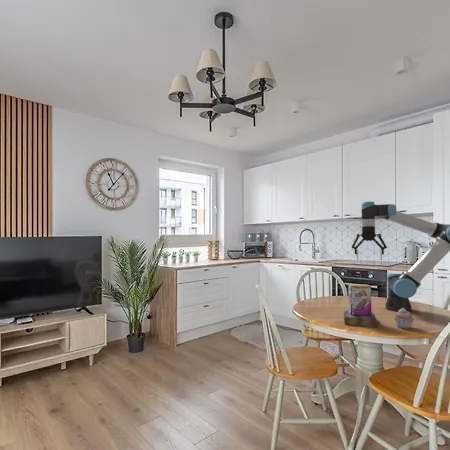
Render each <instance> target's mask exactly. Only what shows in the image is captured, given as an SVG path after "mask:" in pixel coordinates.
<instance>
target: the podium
mask: <svg viewBox="0 0 450 450" xmlns="http://www.w3.org/2000/svg"><path fill="white" fill-rule="evenodd" d="M343 319H344V325H346V326H347V325H348V326H356V327H357V326H360V327H370V328H371V327H372V328H373V327H374V328H378V319H377V317H376V315H375V312H372V311H371V316H365V315H350V314H349V310H344V311H343Z"/></svg>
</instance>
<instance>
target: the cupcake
mask: <svg viewBox="0 0 450 450" xmlns="http://www.w3.org/2000/svg"><path fill="white" fill-rule="evenodd" d="M393 318H394V320H395V324H396V326H397V328H399V329H403V330H410V329H412V327H413V326H412V325H413V322H414V320H415V318H413V316H412V314H411V311H409V312H408V311H406V309H404V308H402V309H400V310H399V311H396V313H395V316H393Z"/></svg>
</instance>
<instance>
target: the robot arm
mask: <svg viewBox="0 0 450 450" xmlns="http://www.w3.org/2000/svg"><path fill="white" fill-rule="evenodd" d="M376 217H377V218H379V219H384V220H387V221H390V222H392V223H395V224H398V225H401V226H403V227H406V228H410V229H413V230H415V231H419V232H421V233H424V234H426V235H428V237H430V238H433V239H435V242H434V243H433V244H432V245H431V246H430V247H429V248H428V249H427V250H426V251H425V252H423V254H422V256H420V258H418V259H417V261H416V262H415V263H413V265H411V267H410V268H409V269H408V270H403V271H402V272H401V273H388V274H387V277H386V278H387V298H386V301H385V303H384V304H385V305H384V307H385V309H387V311H393V312H398V311H399V310H400V309H402V308H404V309H406V311H408V312H412V311H413V306H412V304H411V301H410V298H412V297H414V296H415V295H416V293H417V291H418V288H419V287H420V286H421V285H422V283H421V282H422V280H423V279H424V278H425V277H426V276H427V275H428V274H429V273H430V272H431V271H432V270H433V269H434V268H435V267H436V266H437V265H438V264H439V262H441V260H443V259H444V257H446V256H447V255H448V254H449V253H450V224H449V223H448V224H446V223H439V222H436V221H435V222H431V221H428V220H425V219H423V218H419V217H416V216H414V215H411V214H407V213H404V212H401V211H399V210H397V206H396V204H393V203H392V204H391V203H388V204H386V203H385V204H375V201H363V202H362V203H361V234H360V233H356V237H355V240H354V241H353V243H352V245H351V248H352V249H353V250H354V254H355V255H356V260H357V261H358V260H359V249H358V248H359V247H360V246H361V244H363V242H364V241H367V242H368V241H369V242H372V241H373V242H374V243H375V244H376V245H377V246H378V247H379V248H380V249H379V258H380V259H379V260H380V261H383V255H384V254H385V249H387V248H388V246H387V245H386V243H385V241H384V239H383V238H382V234H381V233H376V226H375V225H376V221H375V220H376ZM360 237H362V239H360ZM376 237H377V238H378V239H379V241H380V243H379V241H378V240H377V239H376ZM359 239H360V241H359V242H358V240H359ZM357 242H358V244H357ZM381 244H382V245H381Z"/></svg>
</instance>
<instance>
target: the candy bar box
mask: <svg viewBox="0 0 450 450" xmlns="http://www.w3.org/2000/svg"><path fill="white" fill-rule="evenodd" d="M348 311H349V314H350V315H365V316H371V312H372V285H369V284H348Z"/></svg>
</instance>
